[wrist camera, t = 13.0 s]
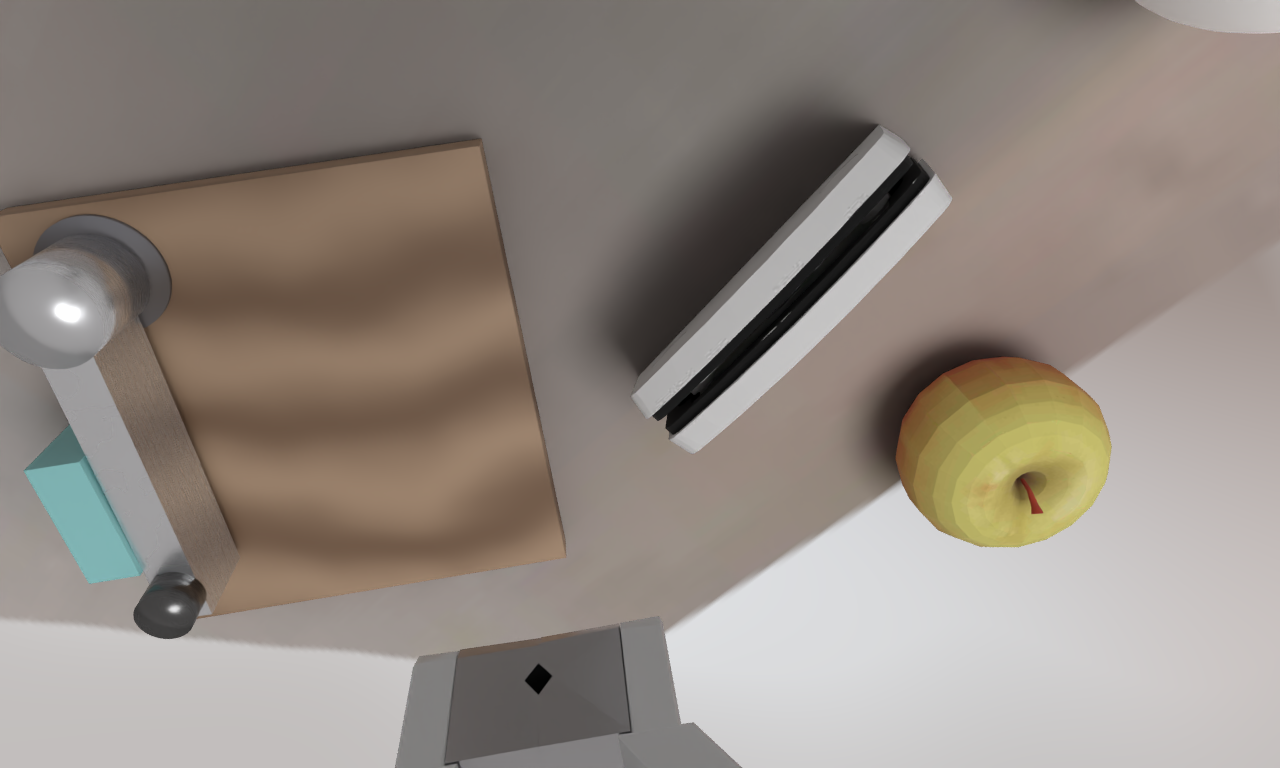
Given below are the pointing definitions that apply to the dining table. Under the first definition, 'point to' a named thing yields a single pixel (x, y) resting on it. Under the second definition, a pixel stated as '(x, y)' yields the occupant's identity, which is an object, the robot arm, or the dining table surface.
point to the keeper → (81, 511)
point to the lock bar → (122, 418)
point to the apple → (1003, 452)
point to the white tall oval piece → (1220, 14)
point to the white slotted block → (792, 290)
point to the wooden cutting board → (339, 365)
